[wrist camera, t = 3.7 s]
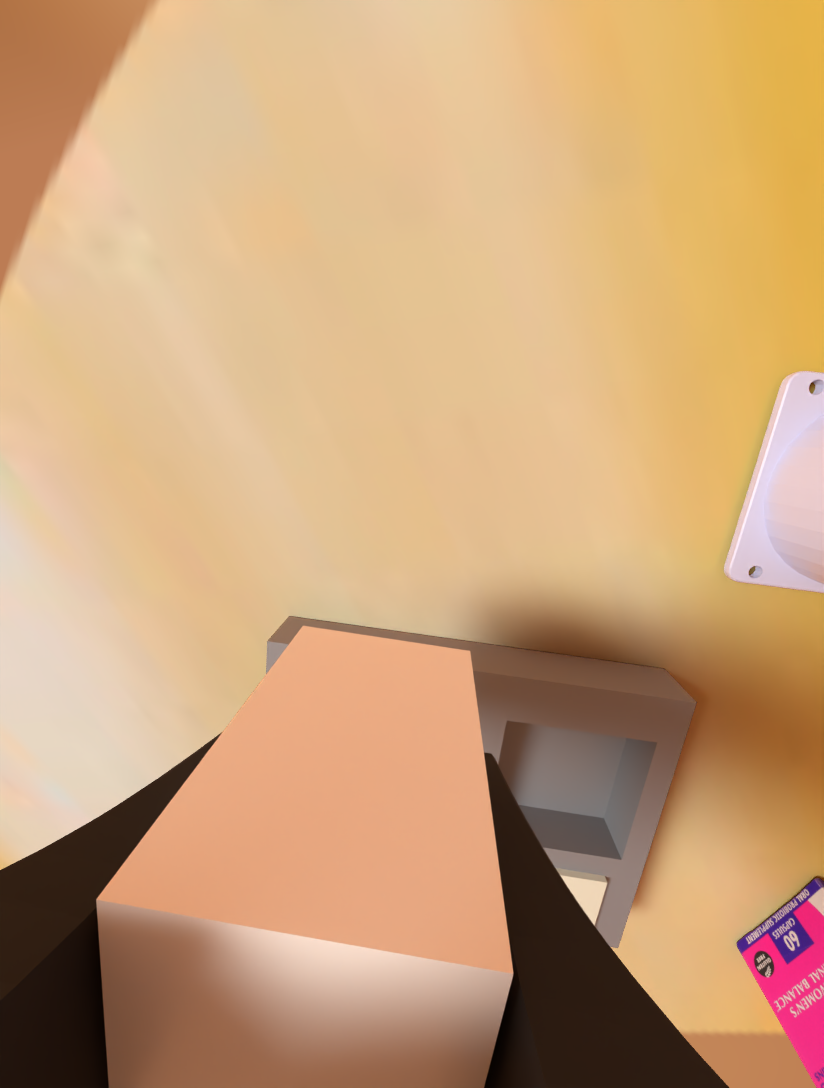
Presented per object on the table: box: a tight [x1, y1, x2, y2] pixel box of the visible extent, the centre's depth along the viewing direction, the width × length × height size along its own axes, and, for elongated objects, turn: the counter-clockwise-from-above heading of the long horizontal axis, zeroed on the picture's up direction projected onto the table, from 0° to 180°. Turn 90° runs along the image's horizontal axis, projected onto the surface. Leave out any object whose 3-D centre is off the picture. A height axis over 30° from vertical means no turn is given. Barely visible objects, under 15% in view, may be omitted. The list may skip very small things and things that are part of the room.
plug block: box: [96, 626, 513, 1088], centre depth 8 cm, size 4×4×7 cm
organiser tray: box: [266, 616, 697, 948], centre depth 19 cm, size 17×13×3 cm
